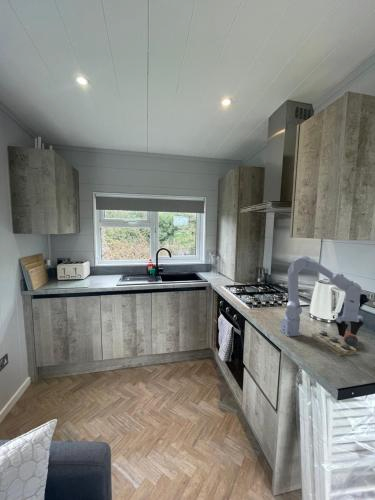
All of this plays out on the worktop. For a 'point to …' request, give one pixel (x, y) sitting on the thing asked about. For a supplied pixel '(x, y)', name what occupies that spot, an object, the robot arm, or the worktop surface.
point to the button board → (333, 344)
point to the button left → (323, 333)
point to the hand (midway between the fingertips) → (347, 334)
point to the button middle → (334, 339)
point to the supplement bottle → (350, 338)
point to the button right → (346, 346)
